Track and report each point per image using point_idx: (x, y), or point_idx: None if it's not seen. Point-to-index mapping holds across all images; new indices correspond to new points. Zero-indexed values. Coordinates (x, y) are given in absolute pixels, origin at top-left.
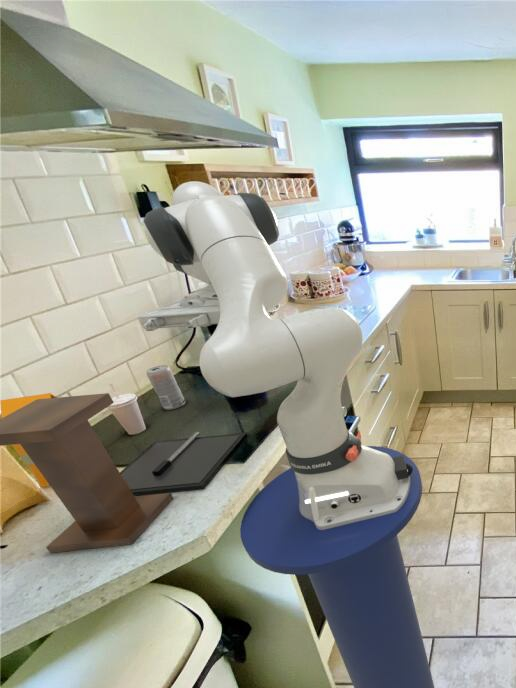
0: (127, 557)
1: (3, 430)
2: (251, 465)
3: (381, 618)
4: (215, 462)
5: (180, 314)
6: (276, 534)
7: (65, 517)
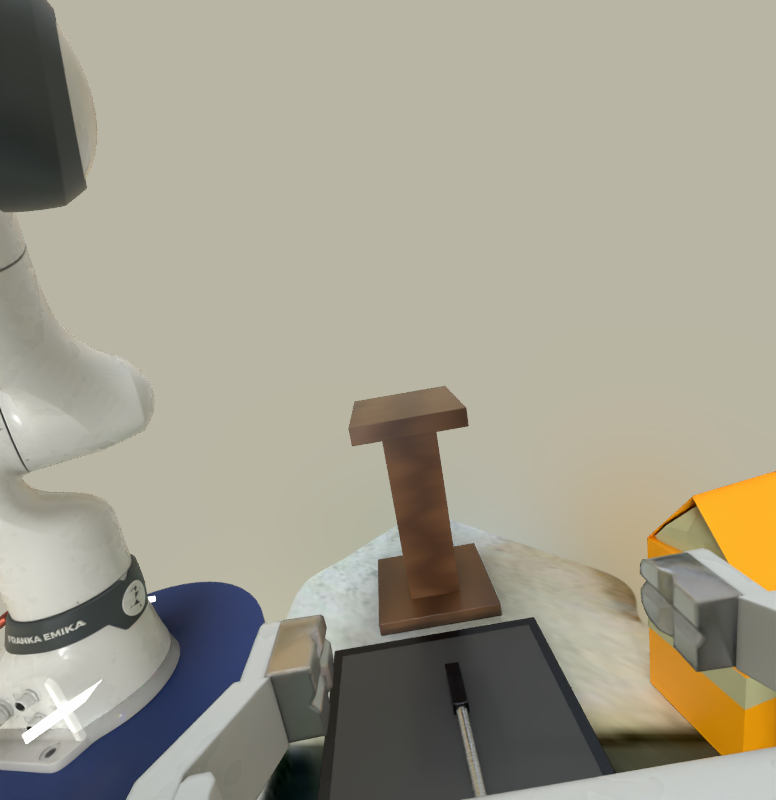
0: (372, 557)
1: (413, 393)
2: None
3: None
4: (340, 723)
5: (531, 790)
6: (215, 612)
7: (536, 592)
